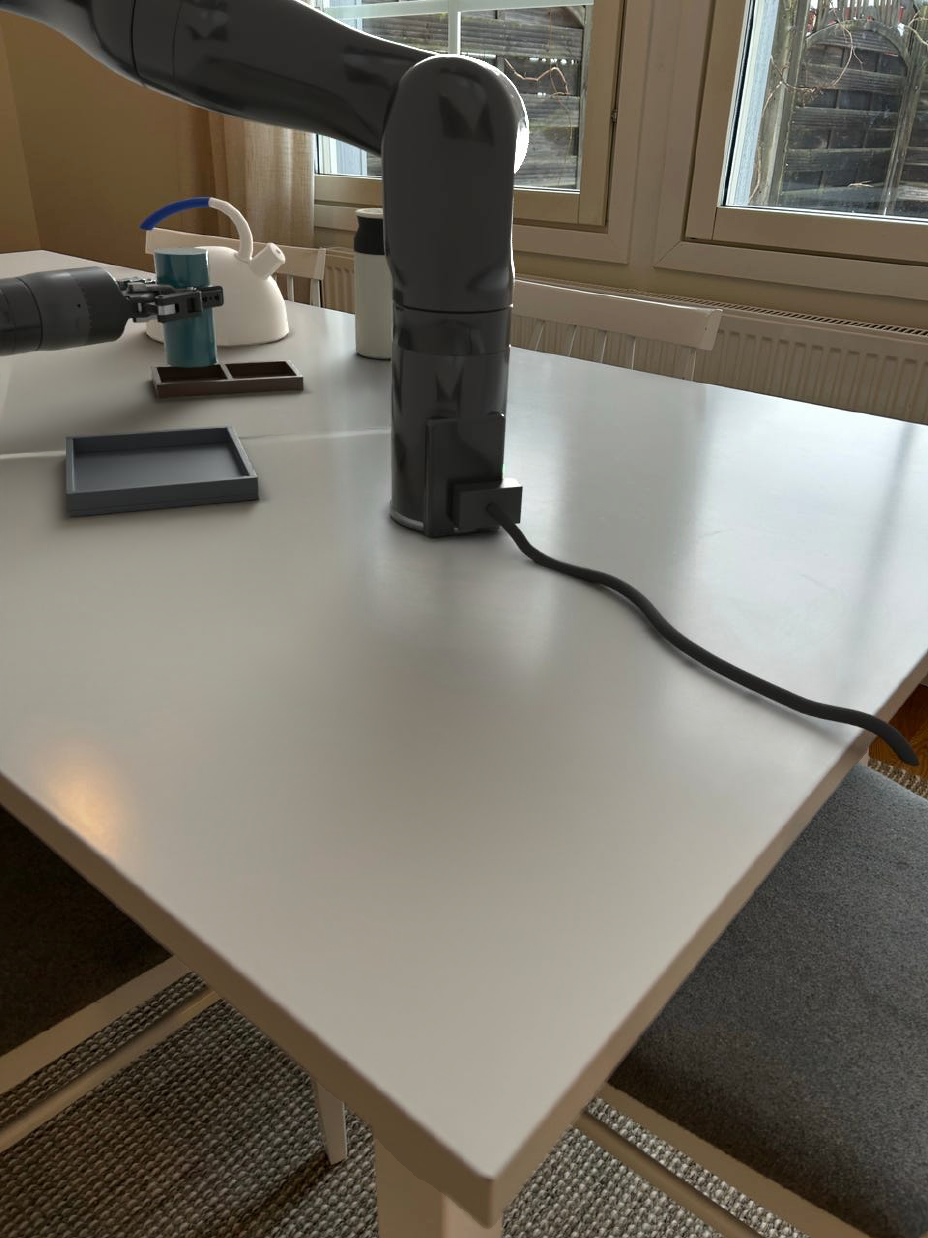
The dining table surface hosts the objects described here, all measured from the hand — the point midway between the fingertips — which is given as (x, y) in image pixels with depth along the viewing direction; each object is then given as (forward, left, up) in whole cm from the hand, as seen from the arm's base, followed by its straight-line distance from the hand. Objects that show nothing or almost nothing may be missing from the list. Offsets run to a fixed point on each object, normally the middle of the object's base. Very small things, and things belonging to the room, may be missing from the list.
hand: (203, 291), depth 107 cm
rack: (-1, -2, -11) cm, 11 cm away
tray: (-30, +8, -11) cm, 33 cm away
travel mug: (+12, -25, -11) cm, 30 cm away
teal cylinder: (-1, +2, -7) cm, 8 cm away
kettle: (+29, -5, -11) cm, 31 cm away
